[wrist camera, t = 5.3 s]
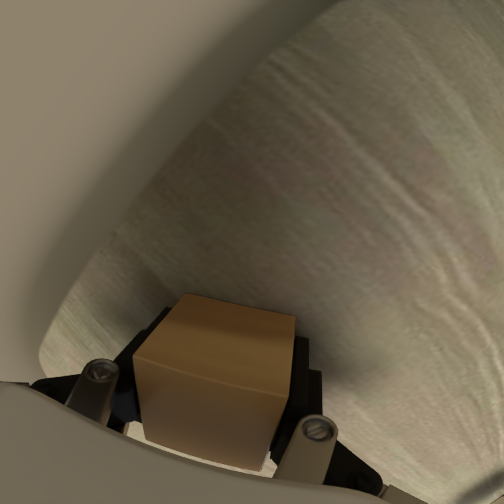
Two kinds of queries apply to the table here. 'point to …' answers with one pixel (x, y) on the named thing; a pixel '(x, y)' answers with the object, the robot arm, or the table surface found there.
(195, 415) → the block
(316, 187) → the table surface
